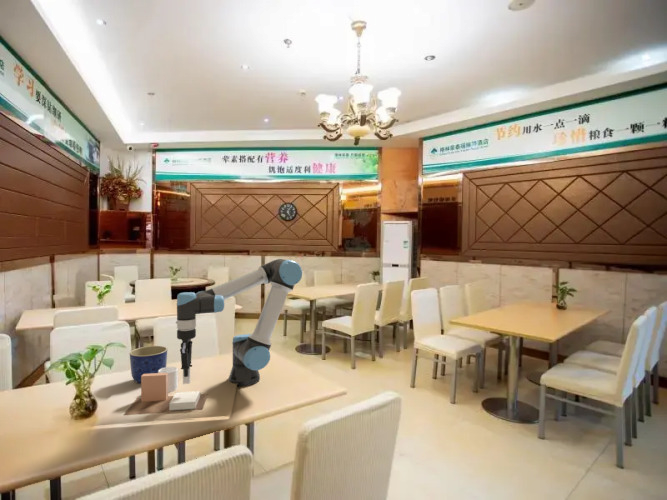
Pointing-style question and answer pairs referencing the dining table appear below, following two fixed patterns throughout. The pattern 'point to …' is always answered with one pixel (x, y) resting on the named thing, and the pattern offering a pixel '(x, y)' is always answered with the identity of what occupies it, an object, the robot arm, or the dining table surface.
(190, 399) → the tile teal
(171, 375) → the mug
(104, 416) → the dining table surface
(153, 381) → the tile plain
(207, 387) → the dining table surface
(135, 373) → the planter
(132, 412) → the board
